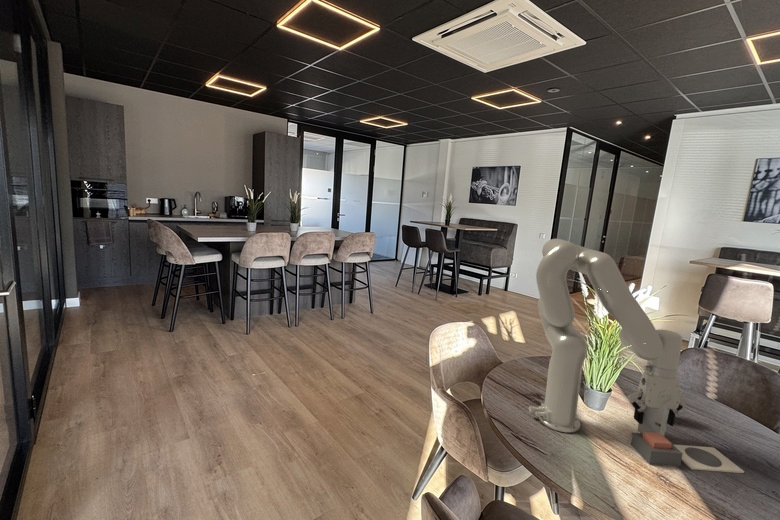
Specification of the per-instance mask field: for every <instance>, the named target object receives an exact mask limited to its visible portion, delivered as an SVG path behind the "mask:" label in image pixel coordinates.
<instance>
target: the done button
mask: <svg viewBox="0 0 780 520" xmlns="http://www.w3.org/2000/svg"><path fill="white" fill-rule="evenodd" d="M642 438H643V439H644V440H645V441H646V442H647V443H648V444H649V445H650V446H651V447H652V448H658V449H671V447H672V444H673V443H672V442H671V441H670V440H669V439H668V438H666V436H665V435H664V436H663V435H662V434H661V433H651V432H643V437H642Z"/></svg>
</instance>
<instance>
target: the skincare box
mask: <svg viewBox="0 0 780 520" xmlns="http://www.w3.org/2000/svg"><path fill="white" fill-rule="evenodd" d="M642 404H643V403H642ZM642 404H641V405H642ZM666 408H667V405H662V406H661V408H660V409H657V408H648V407H646V408H645V409H644V410H643V412H644V417H643V423H642V424H639V423H638V425H637V429H636V432H637V433H643V432H651V433H661V434H662V435H663V436H664V437H665V432H666V427H667V425H668V423H667V419H668V414H669V410H670V409H666Z"/></svg>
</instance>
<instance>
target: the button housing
mask: <svg viewBox="0 0 780 520" xmlns="http://www.w3.org/2000/svg"><path fill="white" fill-rule="evenodd" d="M642 437H643V433H639V432H632V435H631V439H630V440H631V441H630V446H631V447H632V448H633V449H634V450H635V451H636V452H637V453H638V454H639V455H640V456H641V458H643V460H644V461H645V462H646V463H648V465H655V466H668V467H681V466H682V454H683V453H682V452H680V451H679V450H678V449H677V448H676V447H675V446H674V445H675V444H673V443H672V447H671V449H658V448H652V447H651V446H650V445H649V444H648V443H647V442H646V441H645V440H644V439H643V438H642Z"/></svg>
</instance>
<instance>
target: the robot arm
mask: <svg viewBox="0 0 780 520" xmlns="http://www.w3.org/2000/svg"><path fill="white" fill-rule="evenodd" d="M542 246H543V247H542V249H541V250H542V251H541V253H542V256H543V257H542V258H541V261H539V264H538V267H537V269H536V272H535V273H536V274H535V275H536V276H535V277H536V278H535V279H536V280H535V281H536V285H537V289H538V293H539V294H538V295H539V298H538V300H537V310H538V315H539V318H540V320H541V325H542V328H543V332H544V334H545V337H546V340H547V343H549V344H550V346H551V348H552V352H551V357H550V359H549V363H548V369H547V379H546V381H547V382H546V389H545V397H544V402H541V404H540V405H538V406H532V405H530V406H528V412H529V413H532V414H533V413H535V414H534V415H535V416H536V417H537V418H538V417H539V418H538V420H539V421H540V422H541V423H542V424H543V425H545V426H546V427H548V428H550V429H552V430H554V431H558V432H561V433H562V432H563V433H568V434H569V433H576V432H578V431H579V430H580V429H581V421H580V420H579V419H578V417H577V413H578V412H577V411H578V403H579V396H580V389H581V388H580V387H581V380H582V372H583V367H584V364H585V363H584V362H585V360H586V357H587V354H588V353H587V352H588V345H587V343H586V340H585V338H584V336H583V335H582V334H581V333H580V332H579V331H578V330H577V329H576V328H575V326H574V324H573V322H574V320H575V317H576V316H575V315H576V311H575V307H574V304H573V301H572V298H571V297H572V296H571V294H570V291H569V287H568V283H567V274H568V273H569V270H571V271H573V272H577V273H580V274H584V275H585V276H586V277H587V278H588V280H589V282H590V284H591V286H592V288H593V290H594V292H595V293H596V296H597V298H598V299H599V302H600V303H601V305H602V306H603V308H604V310H606V312H607V313H608V314H609V315H610V316H611V317H612V318H613V319H614V320H615V321H616V322H617V323H618V325H619V326H620V327H621V329H620V331H619V333H618V339H619V341H620V342H621V343H622V344H623V346H624V347H626V348H627V346H630V345H632V346H631V347H628V348H627V349H629V351H631V352H632V353H633V354H634V355H636V356H637V357H638V358H640V359H641V360H645V361H646V365H643V366H642V369H643V373H642V375H641V377H640V380H639V385H638V389H637V391H634V392H632V393H629V394H628V395H627V398H628V400H629V403H630V404H631V405H632V407H633V408H634V410H633V411H634V412H633V419H634V420H635V421H636V422H637V423H638V424H642V423H643V417H644V412H643V410H644V409H645V408H646V407H648V408H657V409H660V408H661V406H662V405H667V408H666V409H670V410H669V414H668V419H667V425H669V426H670V427H673V426H674V424H675V421H676V420H675V419H676V415H678V413H679V411H681V410H682V409H683V406H685V405H686V404H687V403H688V402H687V400H686V399H685V398H684V397H682V396H681V383H680V378H679V376H677V374H678V371H679V366H680V365H679V363H680V360H681V359H680V357H681V351H682V345H683V337H682V335H680V333H678V332H675V331H672V330H668V329H656V327H655V325H654V324H653V323H652V321H651V319H650V318H649V316H648V315H647V314H646V312H645V310H644V309H643V308H642V307H641V304H639V302H638V301H637V300H636V298H635V297H634V295H633V294H632V292H631V290H630V288H629V286H628V285H627V283H626V281H625V279H624V277H623V275H622V272H621V271H620V268H619V266H618V265H617V263H616V261H615V260H614V259H613V257H611V256H610V254H608V253H606V252H602V251H600V250H599V251H598V250H595V249H592V248H588V247H585V246H581V245H578V244H575V243H573V242H571V241H569V240H565V239H561V238H552V239H549V240H548V241H546V242H545V243H544V245H542ZM598 288H599V289H598ZM600 289H601V290H600ZM607 291H608V292H607ZM643 343H646V344H643ZM636 399H637V401H636ZM642 403H643V404H642Z"/></svg>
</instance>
